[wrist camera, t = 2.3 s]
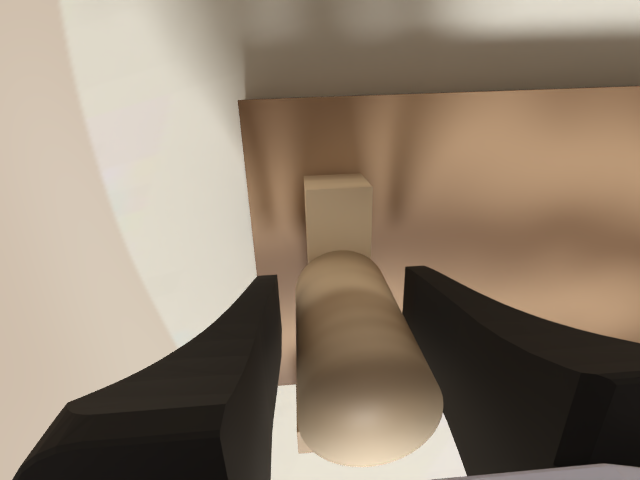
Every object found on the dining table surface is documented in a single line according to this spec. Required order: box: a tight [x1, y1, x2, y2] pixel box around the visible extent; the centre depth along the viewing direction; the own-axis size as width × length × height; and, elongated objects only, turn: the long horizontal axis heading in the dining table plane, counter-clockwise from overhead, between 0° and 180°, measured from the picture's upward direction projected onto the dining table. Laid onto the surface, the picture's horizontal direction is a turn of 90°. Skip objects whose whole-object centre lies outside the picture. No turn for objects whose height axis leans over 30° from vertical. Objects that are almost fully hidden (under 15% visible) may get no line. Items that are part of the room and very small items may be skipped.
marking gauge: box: [295, 173, 443, 467], centre depth 12 cm, size 11×4×9 cm, turn 2°
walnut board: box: [238, 86, 640, 386], centre depth 15 cm, size 12×20×2 cm, turn 92°
